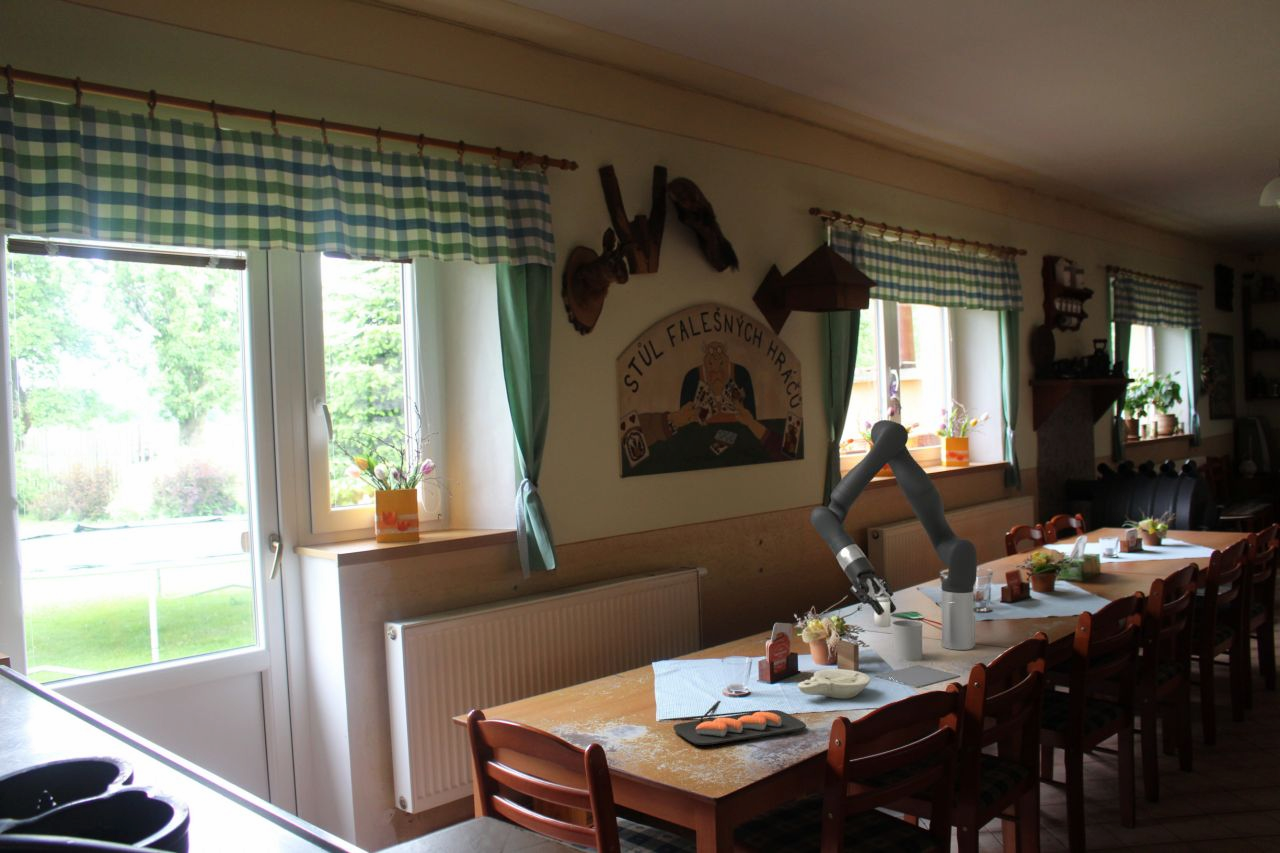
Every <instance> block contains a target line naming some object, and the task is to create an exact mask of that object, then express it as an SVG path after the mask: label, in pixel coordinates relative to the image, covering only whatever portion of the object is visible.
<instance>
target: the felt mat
mask: <svg viewBox="0 0 1280 853" xmlns="http://www.w3.org/2000/svg"><path fill="white" fill-rule="evenodd" d="M876 676H879V677H882V678H881V679H883V678H886V679H885V680H887V679H889V677H890V678H891V677H892V678H893V679H894V680H895V681H896V680H897V681H898V682H902V683H904V684H908V685H911V686H914V687H913V688H915V687H919V688H921V687H920V686H923V687H926V686H930V685H934V684H937V683H941V682H944V681H945V682H946V681H948V680H949V681H950V680H953V679H956V678H959V677H961V674H960V675H959V674H957V673H952V672H948V671H945V670H941V669H937V668H932V667H929V666H925V665H922V664H915V665H912V666H908V667H903V668H900V669H895V670H892V671H887V672H883V673H879V674H875V676H874V677H876ZM879 677H878V678H879ZM892 678H891V680H893V679H892ZM904 684H903V685H904ZM908 685H907V686H908ZM911 686H910V687H911Z"/></svg>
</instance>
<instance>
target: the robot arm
mask: <svg viewBox="0 0 1280 853" xmlns="http://www.w3.org/2000/svg"><path fill="white" fill-rule="evenodd" d="M870 439H871V442H872V444H873V446H872V447H871V448H870V450H869V452H868V453H867V454H866V455H865V456H864V457H863V459H862V460H861V461H860V462H858V463H857V464H856V465H854V467H853V468H851V469H850V470H849V471H848V472H847V473H846V474H845V475H844V476H843V477H842V479H841V480H840V481H839V482H838V483H837V485H836V486H835V488H833V491H832V492H831V493H830V499H831V501H830V502H829V505H828V507H827V506H825V505H824V506H823V505H821V506H817V507H815V508H814V509H813V510H812V512H811V515H810V522H811V524H812V527H814V529H815V530H816V532H817V533H818V534H819V536H820V537H821V538H822V539H823V540H824V541H825V543H826V544H827V545H828V547H829V548H830V550H831V552H832V554H833V555H834V557H835V558H836V560H837V562H838V563H839V566H840V567H841V569H842V570H843V572H844V573H845V574H846V576H847V578H848V579H849V581H850V582H851V584H852V586H851V587H850V588H849V590H850V592H852V593H853V595H855V596H856V598H857V599H858V600H859V601H860V602H861V603H862V604H863V605H866V604H868V606H871V608H872V610H873V611H874V610H875V612H876V613H877V614H878V615H882V613H883V612H884V609H883V608H882V606H881V605H880V603H879V602H878V601H877V600H876V596H887V597H889V600H890V614H893V613H894V612H896V610H897V606H896V605H895V603H894V602H893V600H892V597H893V596H894V592H893V589H892V587H891V585H890V583H889V580H888V579H887V578H883V579H880V578H879V577H878V576H876V574H875V568H874V566H873V565H872V563H871V562H870V561H869V559H868V558H867V556H866V555H865V553H864V552H863V551H862V549H861V548H860V547H859V546H858V545H857V543H856V542H855V540H854V538H852V536H851V535H850V534H849V533H848V532H847V531H846V530H845V529H844V528H843V524H844V521H845V520H846V518H847V515H848V513H849V511H850V509H851V507H852V506H853V505H854V503H855V502H856V501H857V500H858V498H859V497H860V496H861V495H862V493H863V492H864V490H865V489H866V488H867V486H869V484H870V483H871V481H872V480H873V479H874V478H875V477H876V476H877V475H878V474H879V472H880V471H882V470H883V468H884V467H885V466H886V465H887V464H888V466H889V467H890V469H891V471H892V473H893V476H894V478H895V480H896V482H897V484H898V486H899V487H900V489H901V491H902V493H903V495H904V497H905V499H906V500H907V502H908V504H909V506H910V508H911V509H912V510H913V512H914V514H915V515H916V517H917V519H918V520H919V523H920V524H921V526H922V527H923V529H924V530H925V532H926V534H927V536H928V537H929V540H930V542H931V544H932V548H933V549H934V552H935V554H936V556H937V558H938V559H939V561H940V562H941V563H942V564H944V565H946V566H947V567H948V574H947V577H946V578H945V579H943V580H942V581H941V647H942V648H946V649H949V650H955V651H956V650H957V651H966V650H967V651H968V650H972V649H974V647H975V646H976V615H975V614H974V613H975V612H974V609H975V608H974V607H975V606H974V588H975V587H974V586H975V584H976V581H977V570H978V554H977V552H978V551H977V548H976V546H975V544H974V543H973V542H972V541H971V540H969V539H965V538H961V537H958V536H957V535H956V533H955V532H954V531H953V530H952V528H951V526H950V524H949V523H948V521H947V519H946V516H945V509H944V502H943V499H942V497H941V494H940V492H939V491H938V490H939V489H938V488H937V486H936V485H935V484H934V481H933V480H932V479H931V477H930V476H929V474H928V473H927V472H926V471H925V470H924V469H923V467H922V466H921V465H920V464H919V462H917V460H915V459H914V457H913V456H912V454H911V453H910V451H909V449H908V448H907V443H908V440H909V433H908V430H907V428H906V427H905V426H904V425H903V424H901V423H899V422H896V421H893V420H890V419H889V420H887V419H882V420H879V421H877V422H875V423H874V424H873V426H872V428H871V430H870Z"/></svg>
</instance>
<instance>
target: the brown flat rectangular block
mask: <svg viewBox="0 0 1280 853" xmlns="http://www.w3.org/2000/svg"><path fill="white" fill-rule="evenodd" d="M836 643H837V646H836V647H837V669H845V670H853V671H857V672H860V664H859V663H860V662H859V660H860V659H859V658H860V656H859V654H860V653H859V651H860V648H859V647H860V645H859V644H858V643H854V642H851V641H847V640H837V642H836Z"/></svg>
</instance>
